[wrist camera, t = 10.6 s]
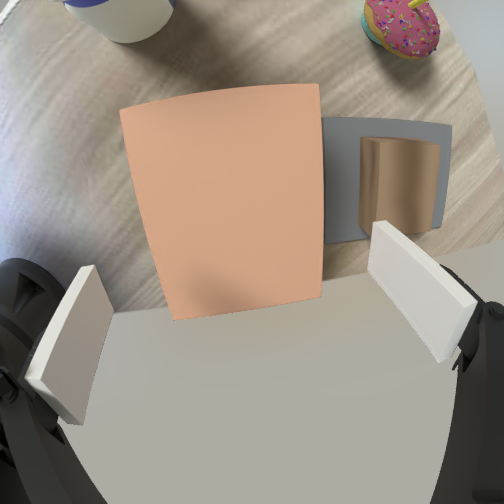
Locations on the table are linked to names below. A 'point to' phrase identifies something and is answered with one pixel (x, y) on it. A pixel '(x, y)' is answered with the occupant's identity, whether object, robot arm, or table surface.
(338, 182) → the mat
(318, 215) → the lid
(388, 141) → the brown wooden block
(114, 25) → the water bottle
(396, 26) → the cupcake
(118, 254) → the table surface
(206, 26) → the table surface
